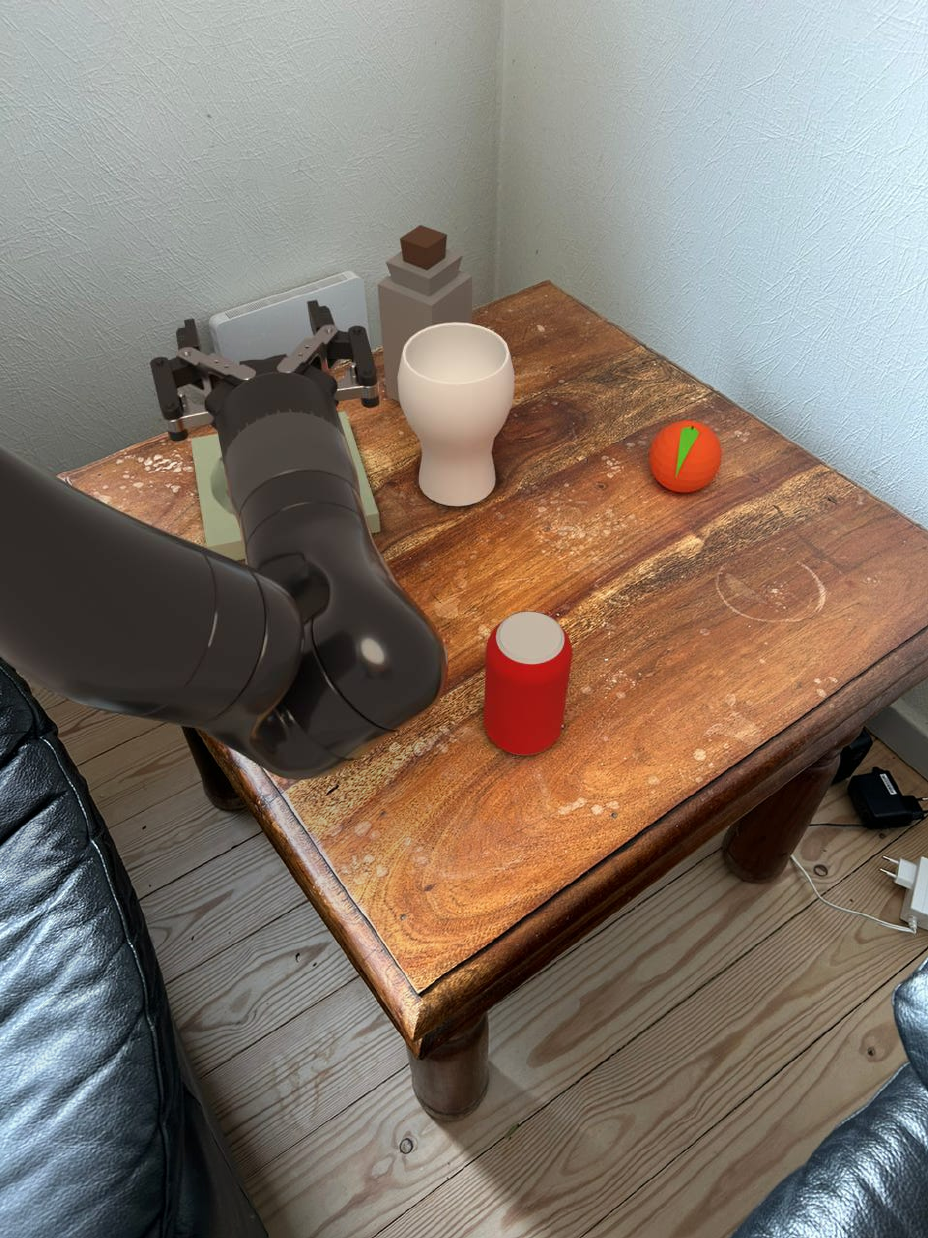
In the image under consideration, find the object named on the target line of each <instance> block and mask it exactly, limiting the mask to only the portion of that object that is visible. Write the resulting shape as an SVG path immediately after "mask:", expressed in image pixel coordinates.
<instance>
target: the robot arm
mask: <svg viewBox="0 0 928 1238" xmlns="http://www.w3.org/2000/svg"><path fill="white" fill-rule="evenodd" d="M306 304H307V311H308V318H309V324H310V329H311V332H312V335H313V336H312V337H311V338H309V337H305V338H304V339H302V341H301V342H300V344H298V346H296V348H295V349H294V350H293V352H292V353H291V354H290V355H289V356H288V355H287V353H283V354H278V355H276V354H275V355H273V356H269V357H267V358H263V359H246V360H240V361H238V363H236V362H234V361H232V360H230V359H228V358H226V357H224V356H222V355H220V354H218V353H216V352H212V353H210V354H206V353H204V352H203V350H202V345H201V339H200V336H199V332H198V328H197V323H196V320H195V318H188V319H184V320H183V323H184V327H178V328H177V329H176V331H175V336H176V343H177V349H178V351H177V353H176V354H177V355H176V356H175V357H173V358H171V359H169V358H168V357H166V356H157V357H154V358H152V359H151V360H150V362H149V365H150V369H151V374H152V379H153V383H154V388H155V392H156V396H157V399H158V405H159V409H160V412H161V415H162V418H163V421H164V425H165V428H166V431H167V434H168V437H169V440H171V442H175V443H178V442H184V441H185V440H186V439H188V438H189V430H188V429H193V428H198V427H202V426H207V425H210V426H211V427H212V428H213V429H214V430H216V432H217V434H218V437H219V443H220V448H221V454H222V459H223V465H224V470H225V476H226V481H227V487H228V488H227V489H228V490H227V492H228V496H229V498H230V502H231V506H232V509H233V512H234V515H235V517H236V519H237V522H238V524H239V528H240V534H241V539H242V545H243V550H244V555H245V559H244V561H245V563H244V562H241V561H239V560H237V561H236V560H234V559H232V558H229V557H227V556H225V555H222V554H220V553H218V552H215V551H213V550H210V549H208V548H207V547H206V546H203V545H201V544H198V543H196V542H193V541H191V540H189V539H187V538H184V537H181V536H178V535H176V534H173V533H172V532H169V531H167V530H164V529H162V528H159V527H157V526H154V525H153V524H152V525H151V523H150V524H149V523H148V522H144V521H143V520H140V519H138V518H136V517H134V516H132V515H130V514H127V513H125V512H123V511H121V510H119V509H117V508H115V507H113V506H112V505H109V504H108V503H105V502H104V501H102V500H100V499H98V498H96V497H94V496H93V495H91V494H89V493H86V492H85V491H83V490H81V489H79V488H78V487H76V486H74V485H72V484H71V483H69V482H67V481H65V480H64V479H62V478H60V477H58V476H57V475H55V474H53V473H52V472H49V470H47V469H45V468H43V467H42V466H39V464H36V463H35V462H33V461H31V460H30V459H28V458H27V457H26V456H24V455H22V454H20V452H19V453H18V452H17V451H16V450H14V449H13V448H11V447H9V446H8V445H6V444H5V443H3V442H1V441H0V658H1V659H2V660H3V661H5V663H7V664H8V665H9V666H10V667H12V668H14V669H15V670H16V671H17V672H19V673H20V674H21V675H23V676H24V677H26V679H29V680H30V681H31V682H32V683H33V684H36V685H38V686H39V687H41V688H42V689H44V690H46V691H48V692H50V693H51V694H54V695H56V696H59V697H60V698H63V699H65V700H68V701H70V702H73V703H76V704H79V705H82V706H85V707H89V708H93V709H96V710H99V711H103V712H108V713H113V714H118V715H124V716H129V717H135V718H139V719H144V720H150V721H155V722H159V723H165V724H170V725H175V726H181V727H184V728H185V727H187V728H192V729H193V728H194V729H198V730H200V731H201V732H203V733H204V734H206V735H208V736H209V737H211V738H213V740H215V741H217V742H218V743H220V744H222V745H224V746H225V747H227V748H229V749H231V750H233V751H234V752H236V753H238V754H240V755H241V756H242V757H245V758H246V759H247V760H249V761H251V762H252V763H254V764H256V765H258V766H259V767H261V768H262V769H264V770H266V771H267V772H268V773H270V774H272V775H275V776H276V777H278V778H282V779H285V780H290V781H310V780H317V779H323V778H327V777H329V776H332V775H334V774H336V773H338V772H341V771H342V770H345V769H346V768H347V767H349V766H350V765H352V764H354V763H355V762H357V761H358V760H359V759H361V758H362V757H363V756H365V755H367V754H368V753H369V752H371V751H373V750H374V749H375V748H377V747H378V746H380V745H381V744H383V743H384V742H386V741H387V740H389V739H391V737H394V735H396V734H398V733H399V732H400V731H402V730H403V729H405V728H406V727H408V726H409V725H411V724H412V723H414V722H416V721H417V720H419V719H420V718H421V717H422V716H424V715H426V714H427V713H428V712H430V711H431V710H432V709H433V708H434V707H435V706H436V705H437V704H438V702H439V700H440V699H441V698H442V696H443V694H444V691H445V688H446V685H447V681H448V676H449V654H448V650H447V646H446V644H445V640H444V638H443V636H442V635H441V632H440V631H439V630H438V628H437V626H436V625H435V624H434V623H433V621H432V620H431V618H430V617H429V616H428V615H427V613H426V612H425V611H424V610H423V608H421V606H420V605H419V604H418V603H417V601H416V600H415V599H414V598H413V597H412V596H411V594H410V593H409V592H408V591H407V590H406V588H405V587H404V586H403V584H402V583H401V582H400V581H399V580H398V578H397V577H396V575H395V574H394V572H393V571H392V569H391V568H390V566H389V564H388V563H387V561H386V560H385V558H384V557H383V555H382V553H381V552H380V550H379V548H378V546H377V545H376V544H377V543H376V542H375V540H374V536H373V533H371V530H370V526H369V523H368V520H367V517H366V514H365V510H364V507H363V504H362V501H361V496H360V486H359V480H358V475H357V471H356V468H355V464H354V461H353V458H352V455H351V452H350V449H349V445H348V442H347V439H346V436H345V433H344V430H343V427H342V423H341V420H340V417H339V414H338V412H339V411H338V406H339V404H340V402H345V401H352V400H360V403H361V406H362V407H364V408H366V409H373V408H376V407H378V406H379V405H380V403H381V402H380V392H379V381H378V380H379V379H378V371H377V370H378V369H377V366H376V362H375V359H374V355H373V351H372V347H371V344H370V339H369V336H368V333H367V329H366V328H365V326H362V325H353V326H351V327H349V328H348V329H347V331H343V330H340V329H338V326H336V324H335V321H334V317H333V315H332V312H331V310H330V308H329V307H328V306H327V305H320V304H319V301H318V299H313V300H307V301H306ZM342 360H346V361H348V360H349V361H350V363H349V364H348V368H349V369H348V370H346V371H345V372H344V377H343V378H342V379H340V380H338V381H337V380H336V378H335V377H334V376H333V375H332V373H333V372H334V371H335V369H336V368H337V367H338V366H339V365H340V363H341V362H342ZM182 387H187V388H189V389H191V390H192V391H194V392H196V393H198V394H200V395H202V396H203V397H205V398H204V403H200V404H199V403H197V402H194V401H193V399H192V398H191V397H188V396H186V393H185V391H182V390H180V391H179V390H178V389H181V388H182Z"/></svg>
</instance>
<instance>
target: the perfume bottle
mask: <svg viewBox="0 0 928 1238" xmlns="http://www.w3.org/2000/svg"><path fill="white" fill-rule="evenodd" d="M447 237H448V234H447V233H445V232H441V231H439V230H437V229H433V228H430V227H427V226H424V225H422V224H420V225H417V227H415V228H413V229H412V230H410V231H409V232H407V233H406V234H404V235H403V236H402V237H399V240H400V241H399V242H400V248H401V251H399V252H398V253H396V254H395V255H394V256H392V257H391V258H389V259H388V260H386V261H385V265H386V267H387V269H388V272H389V275H388V276H387V277H385V278H384V279H382V280H381V281H379V282H378V283H377V295H378V305H379V306H378V309H379V319H380V333H381V334H380V335H381V345H382V357H383V358H382V359H383V368H384V369H383V370H384V371H383V373H384V382H385V395H386V397H387V398H390V399H391V400H394V401H395V402H398V403H400V400H399V393H398V379H397V377H398V372H399V367H400V362H401V357H402V353H403V348H404V345H405V344H406V343H407V341H408V340H409V339H410V338H411V337H412V336H413V335H414V334H416V333H417V332H419V331H421V330H423V329H425V328H427V327H430V326H434V325H438V324H443V323H454V322H456V323H470V324H473V275H472V274H469V273H466V272H464V271H462V270H460V266H461V264H462V260H463V256H464V255H463V254H460V253H458V252H455V251H452V250H449V249H447V240H448V238H447Z"/></svg>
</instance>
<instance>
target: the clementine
mask: <svg viewBox="0 0 928 1238" xmlns="http://www.w3.org/2000/svg"><path fill="white" fill-rule="evenodd" d="M722 455H723V449H722V445H721V443H720V440H719V438H718V436H717V435H716V434H715V433H714V431H713V430H712V429H711V428H710V427H709V426H708V425H705V424H703V423H701V422H698V421H696V420H695V421H694V420H679V421H675V422H673V423H670V424H669V425H667V426H665V427H664V428H663V429H661V430H660V431H659V432H658V434H657V435H656V436H655V438H654V439H653V441H652V442H651V446H650V450H649V455H648V456H649V457H648V461H649V462H648V463H649V467H650V470H651V473H652V474H653V475H652V476H654V478H655V479H656V480H657V481H658V482H659V483H660V485H662V486H663V487H664V488H666V489H668V490H670V491H673V492H675V493H676V492H678V493H691V492H695V491H697V490H701V489H702V488H704V487H706V486H708V484H709V483H711V482H712V480H714V479H715V477H716V476H717V474H718V472H719V470H720V467H721V465H722V459H723V457H722Z"/></svg>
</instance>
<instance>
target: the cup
mask: <svg viewBox="0 0 928 1238" xmlns="http://www.w3.org/2000/svg"><path fill="white" fill-rule="evenodd" d="M515 376H516V375H515V371H514V366H513V362H512V356H511V352H510V348H509V346H508V344H507V342H506V341H505V340H504V338H503V337H502V336H500V335H499V334H498V333H497V332H495V331H493V329H489V328H488V327H484V326H482V325H478V324H474V323H472V324H470V323H456V322H454V323H443V324H438V325H434V326H430V327H427V328H425V329H423V330H421V331H419V332H417V333H416V334H414V335H413V336H412V337H411V338H410V339H409V340H408V341H407V343H406V344H405V345H404V348H403V353H402V357H401V362H400V367H399V372H398V377H397V379H398V393H399V400H400V402H399V405H400V408H401V409H402V412H403V414H404V417H405V419H406V421H407V424H408V426H409V427H410V428H411V430H412V431H413V432H414V434H415V435H416V437H417V438H418V440H419V444H420V449H421V460H420V465H419V470H418V471H419V473H418V485H419V488H420V490H421V491H422V493H423V494H424V495H425V496H426V497H427V498H428V499H429V500H431V501H433V502H435V503H437V504H441V505H445V506H450V507H464V506H465V507H466V506H469V505H470V506H471V505H473V504H477V503H479V502H481V501H482V500H485V499H486V498H487V497H488V496H489V495H490V494H491V493H492V491H493V490H494V488H495V486H496V471H495V465H494V459H493V454H492V451H493V445H494V441H495V438H496V436H497V435H498V434H499V432H500V431H501V430H502V428H503V427H504V424H505V423H506V421H507V418H508V416H509V413H510V411H511V409H512V406H513V403H514V393H515V379H516V377H515Z"/></svg>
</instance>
